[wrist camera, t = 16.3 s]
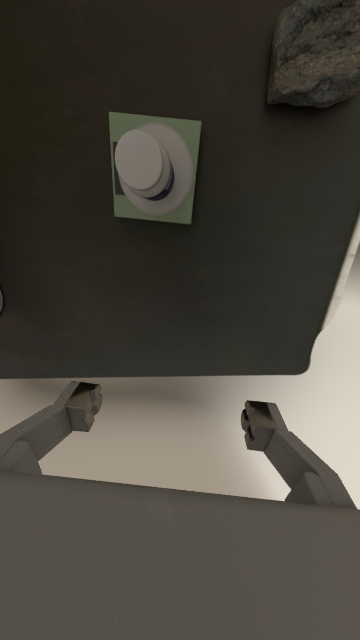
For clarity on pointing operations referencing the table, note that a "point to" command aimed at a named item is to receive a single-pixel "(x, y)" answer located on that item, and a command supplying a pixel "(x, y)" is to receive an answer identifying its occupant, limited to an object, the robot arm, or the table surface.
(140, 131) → the pill bottle
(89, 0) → the table surface
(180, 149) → the scale
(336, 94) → the rock
